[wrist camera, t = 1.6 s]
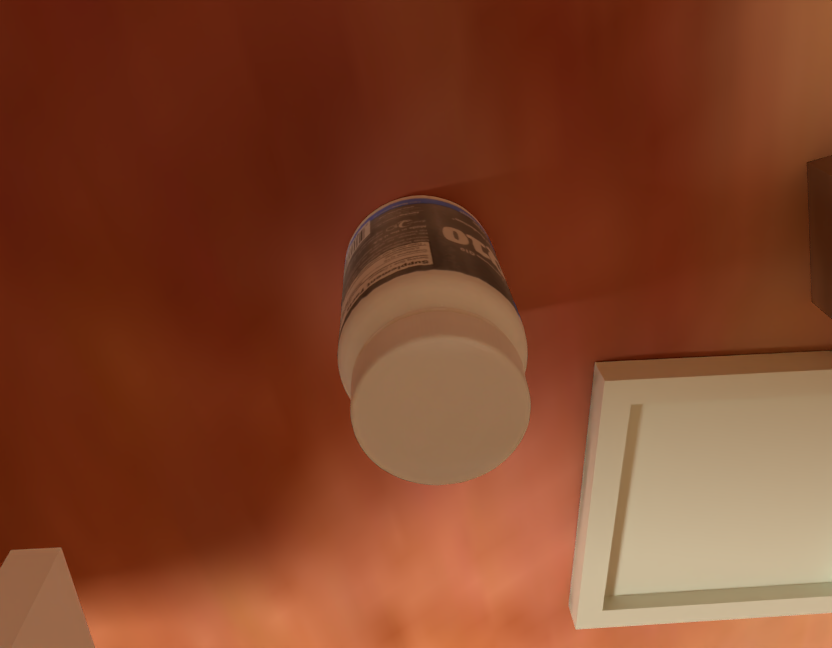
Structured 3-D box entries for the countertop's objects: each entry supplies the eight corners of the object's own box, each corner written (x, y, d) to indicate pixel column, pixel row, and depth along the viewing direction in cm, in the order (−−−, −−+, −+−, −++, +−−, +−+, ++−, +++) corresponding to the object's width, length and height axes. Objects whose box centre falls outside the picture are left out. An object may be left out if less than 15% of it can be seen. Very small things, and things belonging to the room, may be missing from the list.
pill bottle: (519, 282, 24) (586, 441, 17) (396, 352, 25) (408, 531, 18) (444, 160, 22) (483, 280, 15) (314, 242, 23) (288, 392, 16)
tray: (568, 605, 31) (575, 629, 30) (594, 362, 26) (604, 381, 25) (846, 588, 32) (862, 610, 31) (931, 345, 26) (955, 363, 25)
